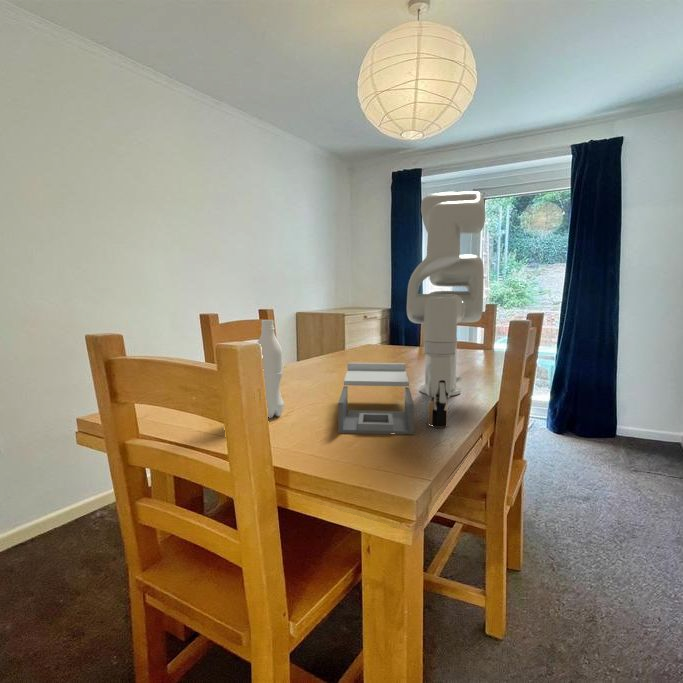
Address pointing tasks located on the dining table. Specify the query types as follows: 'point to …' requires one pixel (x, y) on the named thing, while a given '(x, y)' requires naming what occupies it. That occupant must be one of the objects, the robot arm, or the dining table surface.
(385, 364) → the lid
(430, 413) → the tan egg-shaped pebble
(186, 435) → the dining table surface
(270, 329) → the water bottle
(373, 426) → the housing
